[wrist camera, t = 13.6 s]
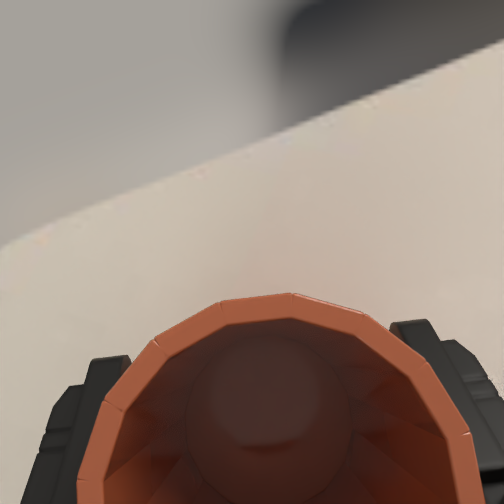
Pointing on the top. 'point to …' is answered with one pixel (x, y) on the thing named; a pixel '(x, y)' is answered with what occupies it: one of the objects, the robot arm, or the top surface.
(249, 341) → the cup
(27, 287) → the top surface
